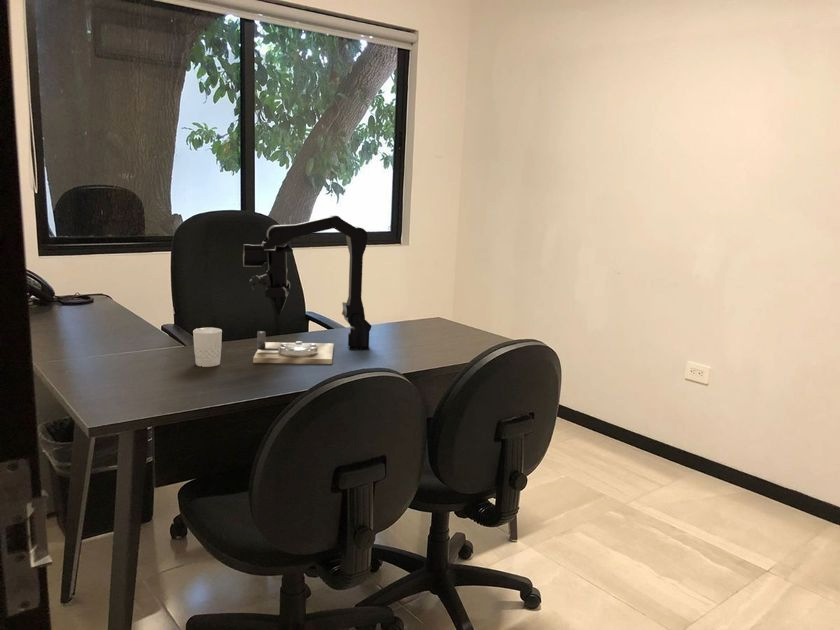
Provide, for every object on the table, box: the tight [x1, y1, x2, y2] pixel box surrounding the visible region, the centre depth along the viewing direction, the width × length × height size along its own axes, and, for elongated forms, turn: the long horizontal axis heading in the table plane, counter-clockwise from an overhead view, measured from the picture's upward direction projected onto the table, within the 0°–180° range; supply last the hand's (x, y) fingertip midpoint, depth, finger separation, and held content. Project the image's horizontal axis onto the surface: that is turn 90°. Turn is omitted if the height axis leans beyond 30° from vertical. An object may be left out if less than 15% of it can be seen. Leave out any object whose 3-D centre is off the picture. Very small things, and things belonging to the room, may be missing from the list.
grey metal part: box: [256, 330, 318, 357], centre depth 197 cm, size 18×12×6 cm, turn 98°
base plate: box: [252, 341, 334, 365], centre depth 201 cm, size 23×20×2 cm
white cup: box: [192, 327, 223, 368], centre depth 186 cm, size 8×8×10 cm
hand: (278, 315), depth 204 cm, fingers closed
